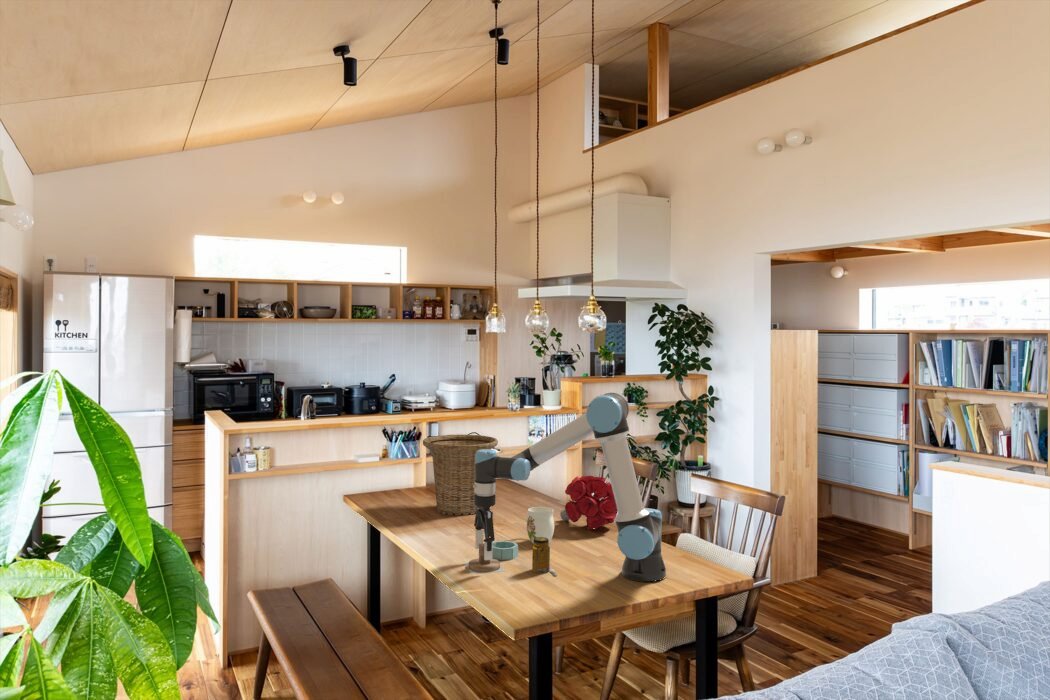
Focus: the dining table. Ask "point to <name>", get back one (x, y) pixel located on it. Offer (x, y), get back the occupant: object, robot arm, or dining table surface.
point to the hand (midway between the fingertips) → (483, 553)
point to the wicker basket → (456, 470)
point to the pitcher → (540, 523)
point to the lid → (483, 562)
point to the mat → (482, 572)
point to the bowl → (504, 550)
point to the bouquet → (590, 501)
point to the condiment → (541, 556)
